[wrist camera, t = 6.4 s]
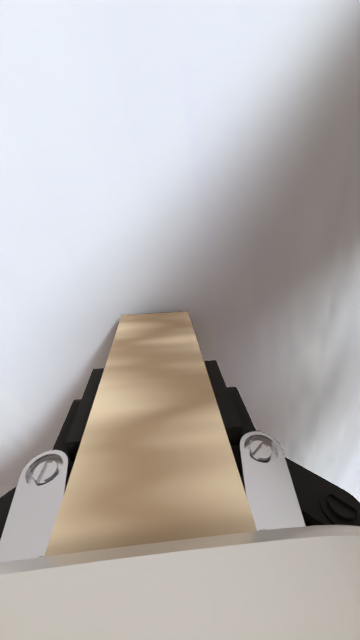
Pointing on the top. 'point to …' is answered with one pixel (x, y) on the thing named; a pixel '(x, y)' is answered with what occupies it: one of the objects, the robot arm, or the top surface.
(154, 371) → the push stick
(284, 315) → the top surface
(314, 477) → the robot arm
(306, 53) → the top surface
